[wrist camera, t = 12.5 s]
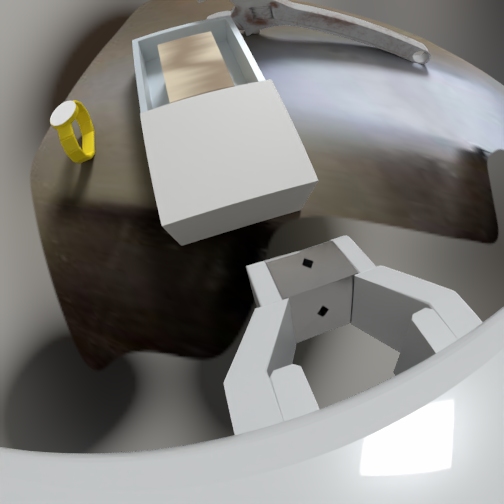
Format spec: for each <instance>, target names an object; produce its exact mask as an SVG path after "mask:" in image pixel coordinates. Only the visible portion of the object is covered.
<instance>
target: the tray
mask: <svg viewBox="0 0 504 504" xmlns="http://www.w3.org/2000/svg"><path fill="white" fill-rule="evenodd" d="M210 31H211V33H212V35H213V37H214V39H215V41H216V44H217V46H218V48H219V50H220V53H221V55H222V57H223V60H224V62H225V64H226V66H227V69H228V71H229V73H230V76H231V78H232V81H233V83H234V85H235V86H238V85H243V84H248V83H253V82H258V81H264V80H265V78H264V77H263V75H262V73H261V71H260V69H259V67H258V65H257V63H256V61H255V59H254V57H253V55H252V54H251V52H250V50H249V48H248V46H247V44H246V43H245V41H244V39H243V37H242V35H241V34H240V32H239V30H238V28H237V27H236V25H235V23H234V21H233V20H232V18H231V16H230V15H229V16H223V17H217V18H212V19H207V20H202V21H198V22H193V23H189V24H185V25H181V26H177V27H173V28H170V29H166V30H163V31H159V32H156V33H153V34H150V35H147V36H144V37H141V38H138V39H135V40H132V44H133V55H134V64H135V73H136V81H137V89H138V96H139V104H140V110H141V113H143V112H146V111H149V110H152V109H154V108H157V107H160V106H164V105H167V104H170V102H169V97H168V93H167V89H166V84H165V79H164V75H163V70H162V65H161V61H160V56H159V51H158V46H157V45H159V44H162V43H166V42H169V41H173V40H177V39H180V38H184V37H188V36H192V35H196V34H201V33H205V32H210Z"/></svg>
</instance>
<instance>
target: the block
mask: <svg viewBox="0 0 504 504" xmlns="http://www.w3.org/2000/svg"><path fill="white" fill-rule="evenodd" d="M157 46H158V51H159V56H160V61H161V65H162V70H163V75H164V79H165V84H166V89H167V93H168V97H169V102H170V103H173V102H176V101H180V100H183V99H186V98H190V97H193V96H197V95H201V94H205V93H208V92H212V91H216V90H221V89H225V88H229V87H234V86H235V85H234V83H233V81H232V78H231V76H230V73H229V71H228V69H227V66H226V64H225V62H224V60H223V57H222V55H221V53H220V50H219V48H218V46H217V44H216V41H215V39H214V37H213V35H212V33H211V31H210V32H205V33H201V34H196V35H192V36H188V37H184V38H180V39H177V40H173V41H169V42H166V43H162V44H159V45H157Z"/></svg>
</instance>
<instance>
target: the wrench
mask: <svg viewBox="0 0 504 504" xmlns="http://www.w3.org/2000/svg"><path fill="white" fill-rule="evenodd" d="M201 1H205V0H198V2H201ZM229 1H231V2H232V3H234V4H235V6H234V7H233V9H232V11H225V12H219V13H215V14H212V15H210V16H208V17H207V19H212V18H217V17H223V16H229V15H230V16H231V18H232V20H233V21H234V23H235V25H236V27H237V28H238V30H245V33H246V36H249V35H251V34H252V33H253V34H257V33H259V32H260V29H264V28H268V27H272V26H281V25H291V26H297V27H303V28H308V29H313V30H318V31H322V32H326V33H330V34H334V35H337V36H341V37H344V38H348V39H351V40H355V41H358V42H361V43H364V44H367V45H370V46H373V47H376V48H379V49H382V50H385V51H387V52H390V53H392V54H395V55H397V56H400V57H402V58H405V59H407V60H410V61H412V62H416V63H419V64H425V63H427V62H428V61H429V60H430V57H431V55H430V53H429V51H428V50H427V48H426V46H425V45H424V44H422V43H420V42H417V41H415V40H413V39H411V38H408V37H406V36H404V35H401V34H399V33H397V32H394V31H391V30H389V29H386V28H384V27H381V26H378V25H375V24H372V23H370V22H367V21H364V20H360V19H357V18H354V17H351V16H347V15H344V14H340V13H337V12H333V11H329V10H325V9H321V8H316V7H312V6H307V5H302V4H297V3H292V2H290V1H288V0H229ZM418 51H425V52H424V53H423V54H422V55H419V56H417V55H414V53H416V52H418Z"/></svg>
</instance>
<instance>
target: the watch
mask: <svg viewBox="0 0 504 504" xmlns="http://www.w3.org/2000/svg"><path fill="white" fill-rule="evenodd" d="M75 119H76V120H77V122H78V124H79V127H80V130H81V134H82V149H81V148H80V147H79V144H78V142H77V140H76V138H75V136H74V132H73V128H72V122H73V121H74V120H75ZM50 124H51V125H52V126H53V128H54V129H56V130H58V134H59V138H60V141H61V144H62V146H63V148H64V150H65V152H66V154H67V155H68V156H69V158H70V159H71V160H72V161H73V162H75V163H82V162H84V161H87V160H89V159H92V157H93V156H94V154H95V146H94V133H95V132H94V128H93V125H92V121H91V118H90V116H89V114H88V112H87V110H86V108H85V107H84V106H83V105H82V103H80V102H79V101H75V100H74V101H66V102H64V103H62V104H61V105H59V106H58V107H57V108H56V109H55V110H54V112H53V114H52V115H51V118H50Z"/></svg>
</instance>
